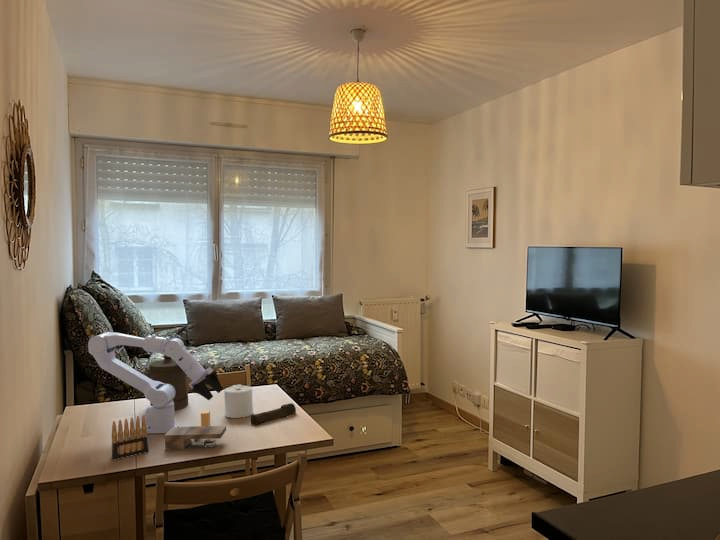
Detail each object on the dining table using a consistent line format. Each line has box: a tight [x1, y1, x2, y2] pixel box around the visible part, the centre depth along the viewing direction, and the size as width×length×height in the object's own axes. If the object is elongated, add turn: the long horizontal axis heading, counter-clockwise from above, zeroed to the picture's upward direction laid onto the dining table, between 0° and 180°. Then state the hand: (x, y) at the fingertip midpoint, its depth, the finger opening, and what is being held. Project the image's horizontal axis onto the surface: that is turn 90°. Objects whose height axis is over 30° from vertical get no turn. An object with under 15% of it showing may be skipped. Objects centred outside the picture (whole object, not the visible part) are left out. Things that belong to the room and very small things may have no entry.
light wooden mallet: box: [193, 410, 211, 441], centre depth 194 cm, size 3×13×6 cm, turn 1°
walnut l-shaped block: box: [164, 425, 227, 451], centre depth 183 cm, size 18×8×5 cm, turn 91°
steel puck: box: [203, 439, 217, 448], centre depth 183 cm, size 4×4×2 cm
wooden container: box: [148, 353, 189, 411], centre depth 228 cm, size 15×15×22 cm
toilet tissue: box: [223, 383, 254, 419], centre depth 216 cm, size 11×12×10 cm
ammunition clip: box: [111, 414, 149, 461], centre depth 175 cm, size 11×2×12 cm, turn 125°
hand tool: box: [250, 402, 297, 426], centre depth 208 cm, size 19×4×5 cm, turn 129°
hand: (215, 394), depth 199 cm, fingers open, 7 cm apart
